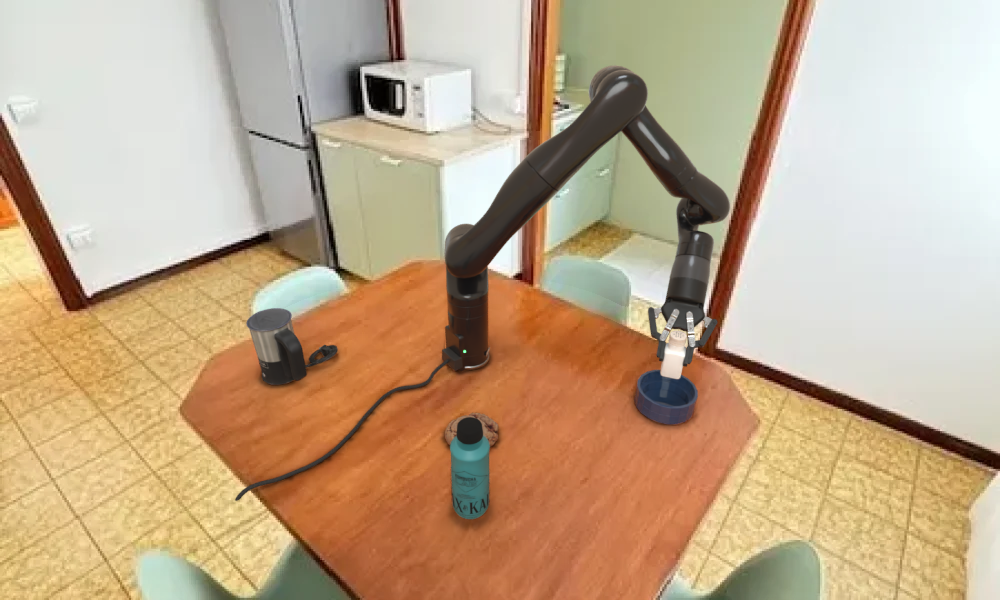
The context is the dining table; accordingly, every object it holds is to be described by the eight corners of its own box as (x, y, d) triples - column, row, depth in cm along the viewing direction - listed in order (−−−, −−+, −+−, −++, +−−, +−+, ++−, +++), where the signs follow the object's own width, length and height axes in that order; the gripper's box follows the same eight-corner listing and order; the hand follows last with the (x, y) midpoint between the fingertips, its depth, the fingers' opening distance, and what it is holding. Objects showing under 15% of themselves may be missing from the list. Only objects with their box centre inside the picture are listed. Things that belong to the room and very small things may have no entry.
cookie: (438, 427, 109) (438, 416, 108) (487, 412, 113) (487, 402, 111) (455, 462, 101) (454, 450, 100) (506, 445, 105) (506, 434, 103)
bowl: (668, 435, 108) (673, 416, 105) (622, 402, 116) (625, 384, 113) (705, 409, 114) (709, 391, 111) (658, 379, 122) (662, 362, 120)
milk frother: (252, 379, 121) (236, 324, 114) (299, 341, 134) (287, 290, 126) (303, 395, 117) (290, 340, 109) (347, 355, 129) (338, 302, 122)
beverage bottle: (451, 495, 95) (446, 410, 85) (489, 493, 95) (489, 408, 85) (452, 528, 89) (446, 441, 79) (492, 525, 90) (492, 439, 79)
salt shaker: (681, 369, 112) (689, 331, 107) (679, 381, 108) (688, 342, 103) (661, 365, 113) (668, 327, 108) (659, 376, 109) (667, 338, 104)
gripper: (653, 270, 109) (636, 352, 105) (728, 282, 104) (713, 368, 101) (652, 280, 116) (636, 358, 112) (722, 292, 111) (708, 373, 108)
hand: (673, 362), depth 107 cm, fingers closed on salt shaker, 4 cm apart
